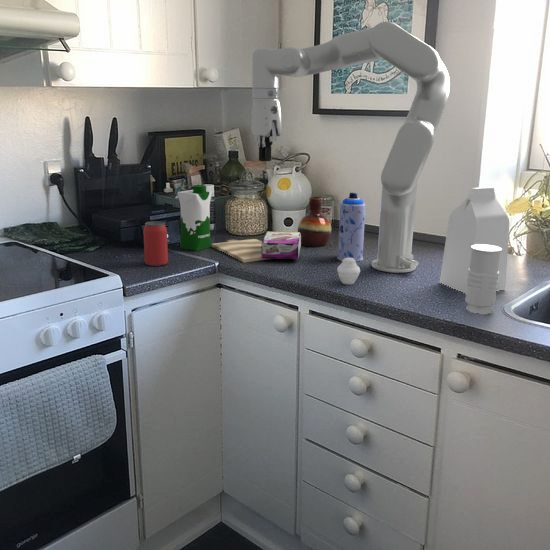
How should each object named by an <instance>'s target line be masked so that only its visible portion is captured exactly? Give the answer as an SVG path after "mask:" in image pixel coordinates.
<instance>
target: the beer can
mask: <svg viewBox="0 0 550 550" xmlns="http://www.w3.org/2000/svg"><path fill="white" fill-rule="evenodd" d="M142 234H143V252H144V253H143V254H144V263H145V264H146V265H147V266H149V265H150V266H149V267H162V266H165V265H166V264H168V262H169V257H168V255H169V254H168V253H169V252H168V251H169V250H168V249H169V248H168V229H167V227H166V223H165V222H164V221H158V220H156V221H155V220H153V221H152V220H151V221H150V220H149V221H146V222H145V223H144V228H143V233H142ZM161 265H162V266H161Z"/></svg>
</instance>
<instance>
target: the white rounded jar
mask: <svg viewBox="0 0 550 550" xmlns="http://www.w3.org/2000/svg"><path fill="white" fill-rule="evenodd" d="M336 272H337V275H338V277H339V280H340V281H341V284H344V285H353V284H355V283H356V282H357V279H358V277H359V275H360V274H361V269H360V267H359V266H358V264H357V262H356V261H355V260H354V259H353V258H350V257H349V258H345V259H343V261H341V263H340V264H339V265H338V266H337V268H336Z"/></svg>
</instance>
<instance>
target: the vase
mask: <svg viewBox="0 0 550 550" xmlns="http://www.w3.org/2000/svg"><path fill="white" fill-rule="evenodd" d="M308 198H309V200H308V201H309V212H308V213H307V214H305V215H304V216H303V217H302V218H301V219H300V220H299V223H298V225H297V232H301V245H304V246H307V247H323V246H325V245H327V244H328V242H329V241H330V239H331V236H332V235H331V234H332V225H331V222H330V220H329V219H328V218H327V217H326V216H325V215H324V214H322V203H323V201H322V200H323V198H322V197H321V196H311V197H308Z"/></svg>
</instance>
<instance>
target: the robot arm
mask: <svg viewBox="0 0 550 550" xmlns="http://www.w3.org/2000/svg"><path fill="white" fill-rule="evenodd" d="M251 60H252V61H251V62H252V65H251V66H252V70H251V71H252V80H251V81H252V83H251V84H252V87H251V88H252V89H251V90H252V94H251V95H252V96H251V97H252V100H251V101H252V106H251V121H250V122H251V123H250V124H251V125H250V126H251V127H250V128H251V133H252V135H254V136H253V137H254V139H255V140H256V141H257V146H258V161H259V162H271V161H272V147H273V143H275V142H277V137H280V136H281V135H282V112H281V111H282V110H281V103H280V76H284V77H292V78H301V77H302V78H303V77H305V76H306V77H307V76H312V75H317V74H321V73H326V72H329V71H334V70H342V69H346V68H350V67H354V66H359V65H363V64H368V63H372V62H373V63H374V62H377V61H378V62H379V61H383V60H384V61H385V62H387V63H388V64H389V65H392V67H395V68H396V69H398V70H399V71H401V72H402V73H404V74H405V75H407V76H408V77H410V78H411V79H412V80H414V81H415V82H416V92H415V96H414V98H413V100H412V103H411V106H410V108H409V111H408V112H407V113H408V114H407V116H406V118H405V120H404V122H403V123H402V125H401V127H399V129H398V132H397V133H396V137H395V139H394V141H393V144H392V146H391V149H390V151H389V154H388V157H387V159H386V161H385V163H384V166H383V168H382V170H381V174H380V182H381V185H382V189H381V199H380V200H381V201H380V212H379V226H378V227H379V229H378V230H379V231H378V243H377V257H376V259H373V260H372V261H371V267H372V268H373V269H374V270H376V271H381V272H385V273H396V274H399V273H400V274H401V273H410V272H413V271H415V270H416V267H418V265H419V261H417V260H414V254H412V249H413V237H414V224H415V223H414V222H415V212H416V202H417V191H418V181H419V178H420V176H421V174H422V172H423V169H424V167H425V165H426V162H427V160H428V158H429V155H430V153H431V150H432V148H433V145H434V141H435V134H436V131H437V128H438V125H439V124H440V121H441V118H442V116H443V113H444V110H445V109H446V108H445V107H446V105H447V102H448V100H449V95H450V90H451V89H450V87H451V86H450V85H451V81H450V75H449V72H448V70H447V67H446V66H445V64H444V62H443V61H442V59H441V58H440V55H439V53H438V51H437V50H436V49H434V48H433V47H432V46H431V45H428V44H427V43H426V42H424V41H422V40H421V39H420V38H418V37H416V36H414V35H412V34H411V33H409V31H407V30H405V29H404V28H403V27H401V26H400V25H398V24H397V23H395V22H392V21H389V20H388V21H387V20H386V21H381V22H379V23H377V24H376V25H374V26H373V27H368V28H366V29H360V30H356V31H351V32H347V33H342V34H339V35H336V36H335V37H333V38H332V39H331V40H329V41H326V42H325V43H324V42H323V43H321V44H316V45H313V46H309V47H305V48H296V47H293V46H291V47H290V46H288V47H283V48H281V47H280V48H268V47H267V48H262V47H261V48H256V49H254V50H253V52H252V59H251Z"/></svg>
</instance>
